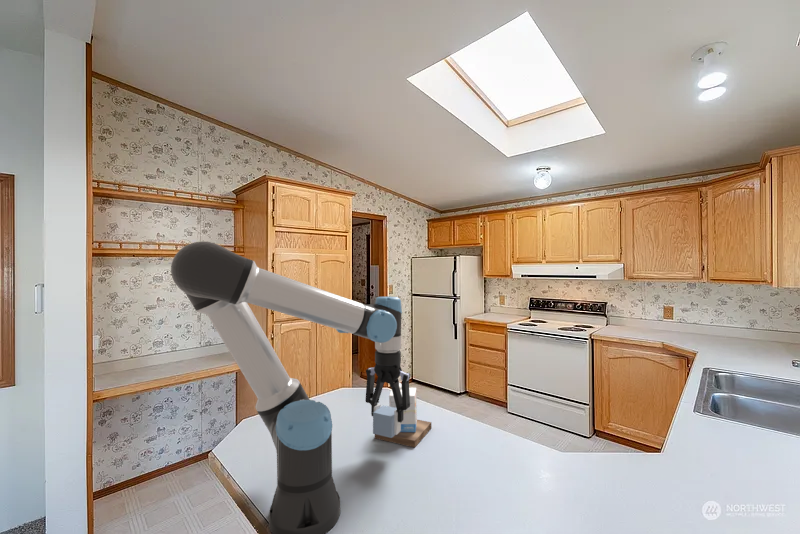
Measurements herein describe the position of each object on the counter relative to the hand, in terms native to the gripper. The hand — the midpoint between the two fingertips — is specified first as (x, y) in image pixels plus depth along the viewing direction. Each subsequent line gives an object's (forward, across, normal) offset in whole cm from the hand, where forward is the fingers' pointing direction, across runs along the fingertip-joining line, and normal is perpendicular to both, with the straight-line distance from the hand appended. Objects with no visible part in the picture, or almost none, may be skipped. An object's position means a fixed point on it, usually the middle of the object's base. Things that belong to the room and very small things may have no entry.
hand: (387, 430), depth 102 cm
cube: (0, 0, 0) cm, 0 cm away
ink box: (+5, +2, -15) cm, 16 cm away
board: (+7, +2, -15) cm, 16 cm away
